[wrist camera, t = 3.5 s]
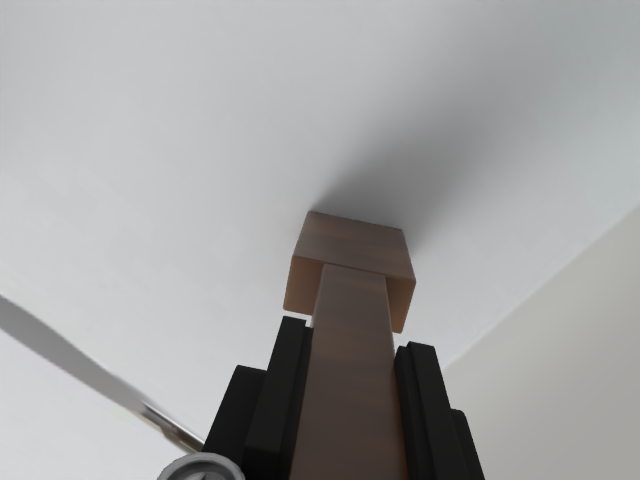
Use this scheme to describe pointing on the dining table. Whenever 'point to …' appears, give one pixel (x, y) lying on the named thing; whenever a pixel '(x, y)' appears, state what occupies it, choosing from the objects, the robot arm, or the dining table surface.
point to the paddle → (350, 348)
